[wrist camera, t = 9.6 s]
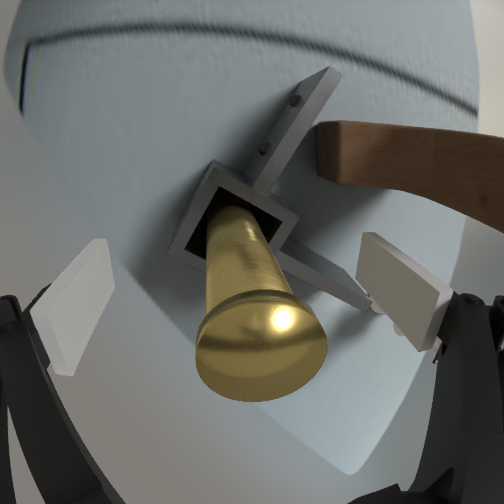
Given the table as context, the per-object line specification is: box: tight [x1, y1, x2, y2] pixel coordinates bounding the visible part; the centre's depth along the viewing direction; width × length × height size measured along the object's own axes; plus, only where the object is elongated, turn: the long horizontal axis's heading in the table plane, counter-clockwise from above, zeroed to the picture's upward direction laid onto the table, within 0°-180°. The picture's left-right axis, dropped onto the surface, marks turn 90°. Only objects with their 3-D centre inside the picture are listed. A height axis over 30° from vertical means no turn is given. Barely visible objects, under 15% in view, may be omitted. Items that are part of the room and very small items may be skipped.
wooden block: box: [317, 120, 504, 233], centre depth 15 cm, size 9×4×18 cm, turn 92°
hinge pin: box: [196, 191, 327, 402], centre depth 16 cm, size 4×4×17 cm
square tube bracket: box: [167, 66, 373, 312], centre depth 21 cm, size 15×15×6 cm
